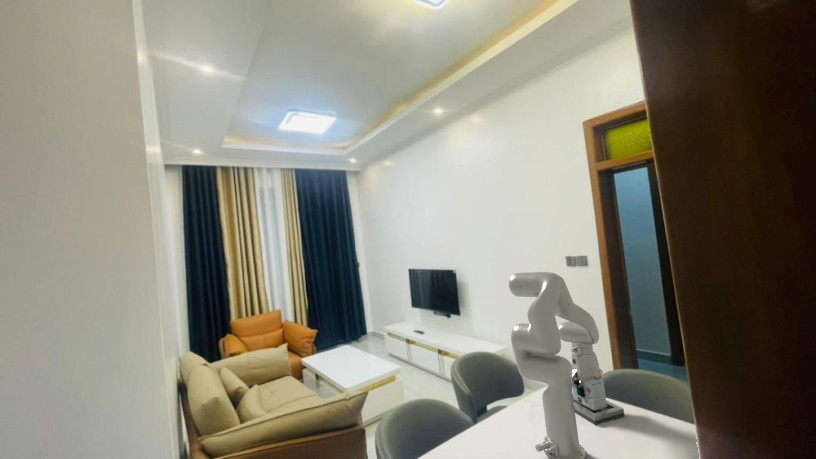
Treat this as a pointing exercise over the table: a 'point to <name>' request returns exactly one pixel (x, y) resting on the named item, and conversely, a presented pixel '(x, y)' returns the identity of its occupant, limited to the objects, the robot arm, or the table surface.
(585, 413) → the gray rectangular frame
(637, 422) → the table surface
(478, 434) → the table surface
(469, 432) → the table surface
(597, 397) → the light bulb box
